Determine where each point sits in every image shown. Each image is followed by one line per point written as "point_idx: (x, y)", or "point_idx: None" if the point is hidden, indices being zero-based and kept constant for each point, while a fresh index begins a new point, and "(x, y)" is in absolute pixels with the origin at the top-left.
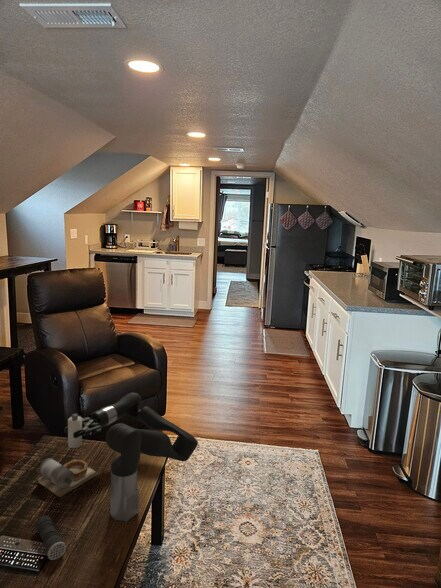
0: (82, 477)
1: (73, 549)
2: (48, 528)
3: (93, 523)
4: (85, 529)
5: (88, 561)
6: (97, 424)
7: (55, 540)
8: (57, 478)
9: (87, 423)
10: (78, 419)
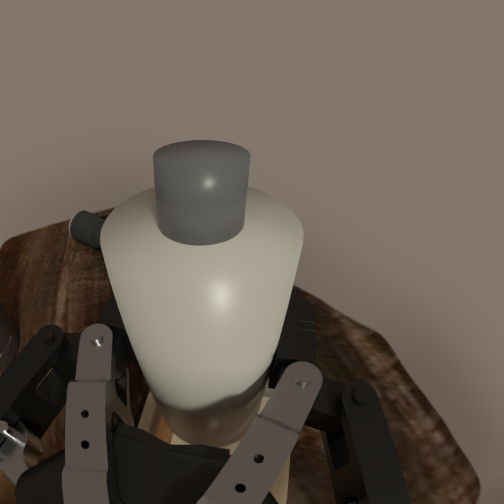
0: (152, 427)
1: (64, 253)
2: None
3: (46, 303)
4: (57, 287)
5: (37, 247)
6: (15, 483)
7: (81, 213)
8: None
9: (101, 427)
10: (143, 229)
